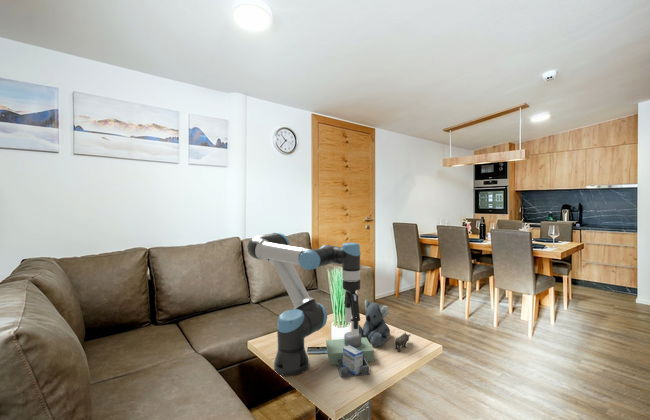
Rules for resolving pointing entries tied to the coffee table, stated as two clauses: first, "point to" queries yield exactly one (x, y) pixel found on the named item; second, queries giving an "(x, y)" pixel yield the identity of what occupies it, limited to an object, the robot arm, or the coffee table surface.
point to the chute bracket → (346, 373)
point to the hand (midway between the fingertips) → (351, 328)
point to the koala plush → (375, 324)
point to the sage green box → (357, 342)
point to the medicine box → (352, 359)
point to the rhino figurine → (401, 341)
